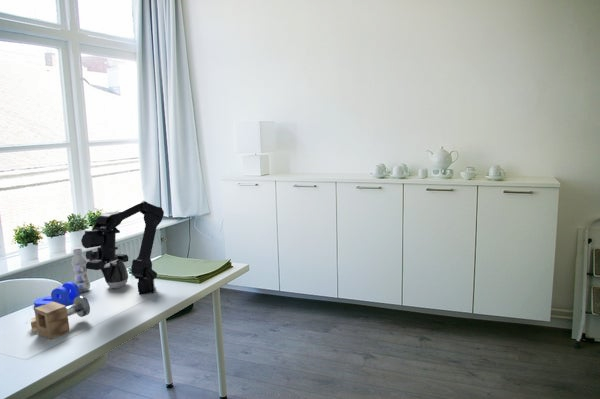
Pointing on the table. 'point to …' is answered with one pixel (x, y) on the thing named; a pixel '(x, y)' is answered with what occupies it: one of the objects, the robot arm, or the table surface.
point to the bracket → (60, 295)
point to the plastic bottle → (80, 270)
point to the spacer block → (34, 324)
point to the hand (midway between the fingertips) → (107, 282)
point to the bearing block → (52, 320)
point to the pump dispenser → (119, 276)
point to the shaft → (79, 307)
